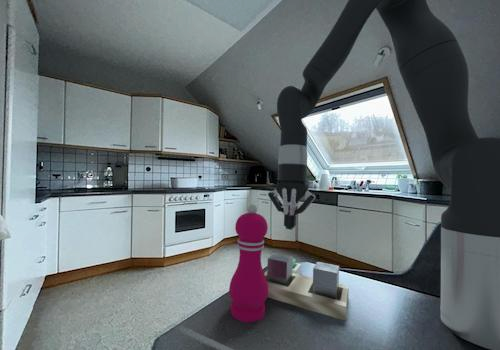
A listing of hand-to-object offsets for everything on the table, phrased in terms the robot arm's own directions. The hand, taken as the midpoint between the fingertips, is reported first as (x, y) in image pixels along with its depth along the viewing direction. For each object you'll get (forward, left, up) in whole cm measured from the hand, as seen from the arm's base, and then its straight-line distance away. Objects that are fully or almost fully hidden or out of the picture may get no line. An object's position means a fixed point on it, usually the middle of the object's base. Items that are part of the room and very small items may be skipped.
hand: (289, 228), depth 57 cm
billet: (-11, +9, -12) cm, 18 cm away
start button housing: (0, 0, -13) cm, 13 cm away
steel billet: (-1, +9, -12) cm, 15 cm away
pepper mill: (+1, +20, -13) cm, 24 cm away
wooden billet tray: (-6, +9, -13) cm, 16 cm away
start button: (0, 0, -11) cm, 11 cm away
